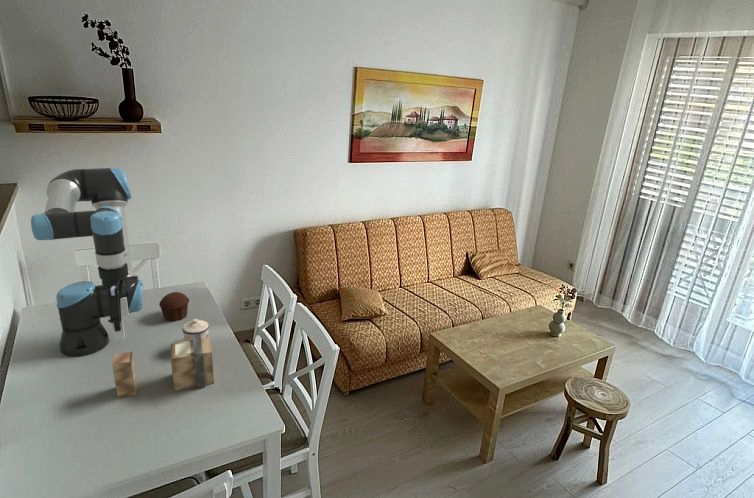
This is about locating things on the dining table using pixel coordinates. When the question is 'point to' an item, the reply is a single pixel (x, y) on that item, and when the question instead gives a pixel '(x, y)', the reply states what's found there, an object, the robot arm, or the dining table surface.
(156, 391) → the dining table surface
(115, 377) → the pink-ended wooden block
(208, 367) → the tan wooden crate
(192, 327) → the teacup with lid
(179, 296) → the muffin
